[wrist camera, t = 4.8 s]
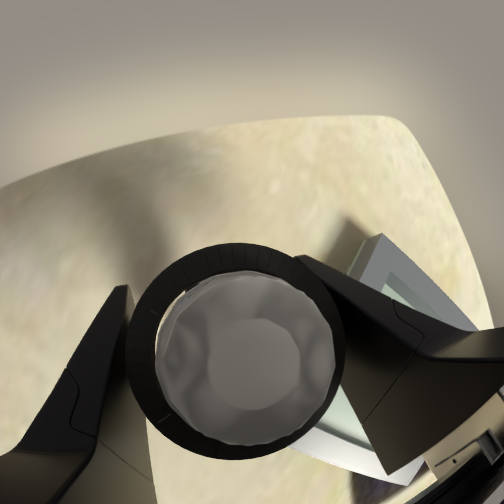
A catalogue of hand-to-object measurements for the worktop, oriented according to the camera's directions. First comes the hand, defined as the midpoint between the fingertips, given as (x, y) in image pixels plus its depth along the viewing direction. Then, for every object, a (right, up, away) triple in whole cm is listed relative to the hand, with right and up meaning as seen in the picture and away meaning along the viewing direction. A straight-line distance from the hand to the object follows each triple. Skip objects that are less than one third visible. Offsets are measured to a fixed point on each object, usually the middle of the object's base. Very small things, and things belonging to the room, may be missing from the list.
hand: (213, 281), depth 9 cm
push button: (-1, -3, +6) cm, 7 cm away
